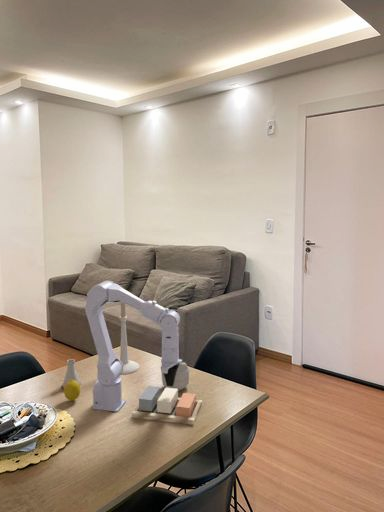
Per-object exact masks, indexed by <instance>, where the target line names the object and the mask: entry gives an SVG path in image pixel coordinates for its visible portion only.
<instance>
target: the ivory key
mask: <svg viewBox="0 0 384 512" xmlns="http://www.w3.org/2000/svg"><path fill="white" fill-rule="evenodd" d="M178 398H179V391H178V389H175V388H166V387H164V389H163V391H162V393H160V397H159V399H158V400H157V404H156V408H157V412H158V413H161V414H172V413H173V412H172V411H173V410H174V408H175V407H176V404H177V403H176V402H177V400H178Z"/></svg>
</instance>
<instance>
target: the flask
mask: <svg viewBox="0 0 384 512" xmlns="http://www.w3.org/2000/svg"><path fill="white" fill-rule="evenodd" d="M75 362H76V359H73V358H72V359H70V358H69V359H67V360H66V364H67V368H66V372H65V377H64V379H63V382H62V388H64V389H65V385H66V384H67V383H68V382H69V381H71V380H74V381H77V382H78V383H79V386H80V387H81V385H82V382H81V379H80V377H79V375H78V372H77V370H76V369H77V368H76V367H75Z"/></svg>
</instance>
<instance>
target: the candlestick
mask: <svg viewBox="0 0 384 512" xmlns="http://www.w3.org/2000/svg"><path fill="white" fill-rule="evenodd" d="M126 310H127V309H126V303H123V302H121V301H120V316H119V317H118V319H119V321H120V323H121V325H120V327H121V328H120V350H119V351H120V352H119V353H120V355H119V360H120V361H121V362H122V364H123V371H122V373H121V374H120V375H129V374H133V373H135V372H137V371H139V370H140V364H139V363H138V362H136V361H134V360H129V351H128V338H127V335H128V334H127V325H126V322H127V320H128V319H127V318H128V316H127V315H126Z"/></svg>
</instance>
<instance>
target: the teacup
mask: <svg viewBox="0 0 384 512" xmlns="http://www.w3.org/2000/svg"><path fill="white" fill-rule="evenodd" d="M179 364H180V365H179V367H178V369H177V372H176V376H175V381H174V385H173V386H167V385H166V381H165V377H164V374H163V373H161V382H162V386H163V387H164V388H175V389H178V392H179V391H182V390H184V389H185V388H186V387H187V386H189V383H190V371H189V370H190V367H189V366H188V365H187V363H186V362H183V361H182V363H179Z"/></svg>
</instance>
